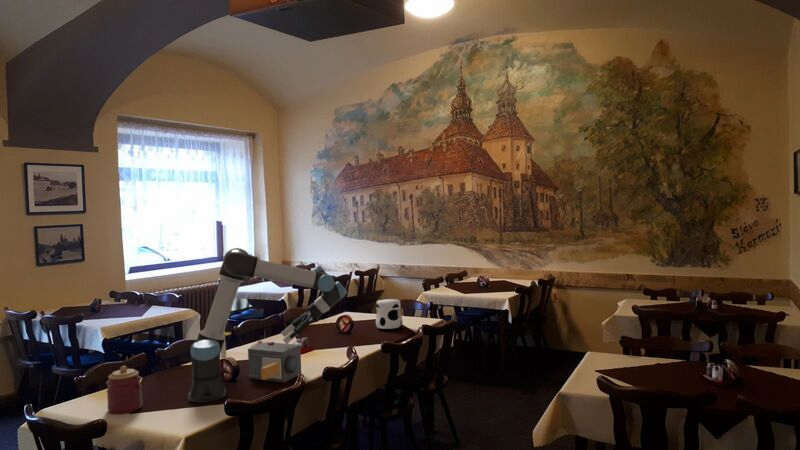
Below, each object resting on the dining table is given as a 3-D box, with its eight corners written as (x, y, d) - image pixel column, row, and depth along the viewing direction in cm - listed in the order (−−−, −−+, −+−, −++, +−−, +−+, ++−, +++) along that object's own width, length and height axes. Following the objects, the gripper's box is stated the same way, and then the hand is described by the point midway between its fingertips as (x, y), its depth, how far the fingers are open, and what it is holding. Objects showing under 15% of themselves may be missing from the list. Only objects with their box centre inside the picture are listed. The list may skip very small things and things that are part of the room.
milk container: (372, 327, 375) (372, 300, 375) (398, 324, 381) (397, 298, 380) (380, 332, 359) (379, 304, 358) (406, 330, 364) (405, 302, 363)
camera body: (285, 383, 261) (284, 351, 260) (248, 378, 270) (246, 347, 270) (304, 374, 274) (303, 343, 274) (267, 370, 284) (266, 340, 283)
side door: (265, 386, 251) (264, 365, 250) (247, 383, 255) (246, 363, 255) (281, 378, 261) (281, 358, 261) (264, 376, 266) (263, 356, 265)
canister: (148, 402, 241) (145, 361, 240) (134, 413, 228) (132, 369, 227) (116, 404, 240) (114, 362, 240) (101, 415, 227) (99, 371, 227)
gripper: (327, 319, 261) (290, 351, 257) (320, 308, 285) (287, 337, 281) (316, 307, 259) (279, 339, 255) (310, 297, 283) (277, 326, 280)
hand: (283, 338), depth 268 cm, fingers open, 13 cm apart
